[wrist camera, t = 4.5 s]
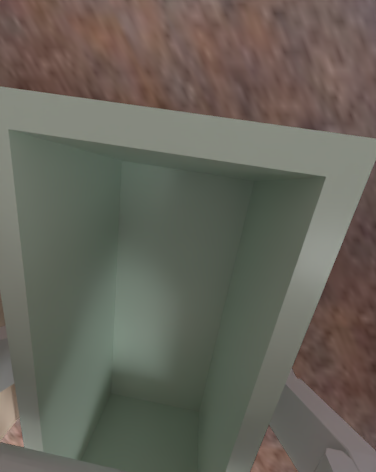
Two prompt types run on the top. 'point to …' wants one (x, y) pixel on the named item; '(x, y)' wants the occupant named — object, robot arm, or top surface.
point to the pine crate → (7, 398)
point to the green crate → (162, 273)
